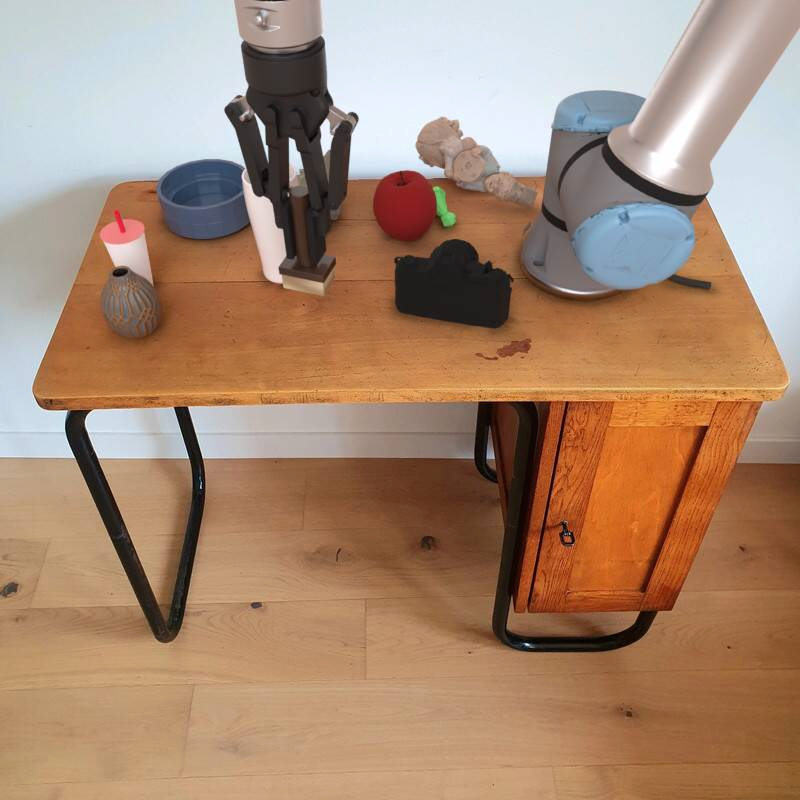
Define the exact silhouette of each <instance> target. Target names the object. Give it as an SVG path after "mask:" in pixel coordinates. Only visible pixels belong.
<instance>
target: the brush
mask: <svg viewBox="0 0 800 800" xmlns="http://www.w3.org/2000/svg"><path fill="white" fill-rule="evenodd" d="M289 199H290V207H291V215H292V223H293V231H294V240H295V248H296V256H295V258H294V259H293V260H292V259H287V256H286V257H285V259H284V260H283V261H282V263H281V264H280V266H279V267H278V268H279V274H281V275H282V281H283V284H282V287H283V289H287V290H291V291H297V292H302V293H307V294H311V295H314V296H315V295H316V296H321V297H325V296H326V294H327V292H328V291H329V289H330V288H331V286H332V284H333V282H334V281H335V280H336V270H335V266H336V264H337V257H336V256H333V255H329V254H324V255H323V257H322V258H321V260H320V261H319V263H318V264H312V263H311V259H310V250H309V241H308V232H307V222H306V213H305V212H306V211H307V209H308V208H309V207H310V206H311V202H310V197H309V192H308V188H307V187H306V186H295V187H292V188H291V189H290V190H289Z"/></svg>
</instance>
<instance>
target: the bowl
mask: <svg viewBox="0 0 800 800" xmlns="http://www.w3.org/2000/svg"><path fill="white" fill-rule="evenodd" d="M245 169H246V167H244V165H241V164H239V163H237V162H235V161H232V160H227V159H222V158H205V159H204V158H203V159H197V160H192V161H187V162H185V163H182V164H181V163H180V164H178V165H176V166H174V167H173V168H171V169H169V170H167V171H166V172H165V173H164V174H163V175H162V176H161V177H160V178H159V179H158V182H157V184H156V186H155V190H156V194H157V199H158V203H159V206H160V209H161V212H162V218H163V221H164V225H165V226H166V228H167V229H169V230H170V231H171V232H172V233H173V234H176V235H178V236H180V237H183V238H189V239H192V240H193V239H194V240H210V239H211V240H212V239H216V238H221V237H226V236H229V235H231V234H234V233H236V232H238V231H241V229H243V228H245V227H246V226H247V225H249V224H250V219H249V215H248V212H247V208H246V203H245V198H244V192H243V184H242V173H243V171H244V170H245Z"/></svg>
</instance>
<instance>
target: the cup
mask: <svg viewBox="0 0 800 800" xmlns="http://www.w3.org/2000/svg"><path fill="white" fill-rule="evenodd" d="M113 214H114V217H115V221H112V222H109V223H108V224H106V225H105V226H104V227H103V228H102V229H101V230H100V232H99V237H100V239H101V241H103V244H104V246H105V248H106V251H107V252H108V254H109V256H110V259H111V261H112V263H113V265H114V268H115V267H118V266H127V267H129V268H130V269H131V270H132V271H133V272H135V273H137V274H139V275H140V276H142V277H144V278H146V279H147V280H148V281H149V282H150V283H151V284H152V285H153V286H154V279H153V273H152V267H151V263H150V256H149V251H148V246H147V239H146V234H145V225H144V224H143V223H142V222H141V221H139V220H136V219H129V218H125V219H122V217H121V213H120V211H119V209H115V210H114V211H113Z"/></svg>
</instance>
